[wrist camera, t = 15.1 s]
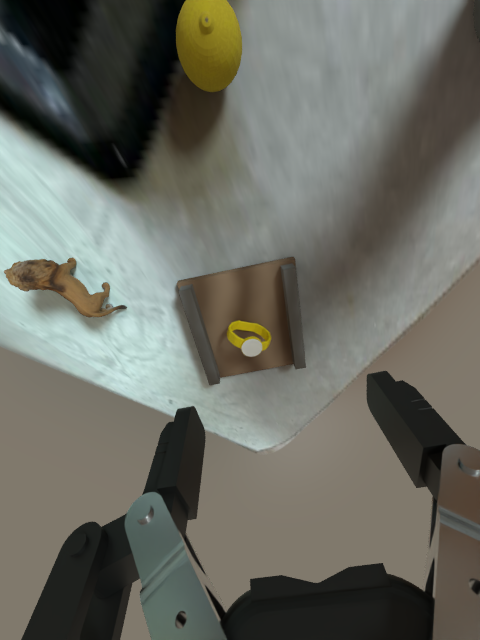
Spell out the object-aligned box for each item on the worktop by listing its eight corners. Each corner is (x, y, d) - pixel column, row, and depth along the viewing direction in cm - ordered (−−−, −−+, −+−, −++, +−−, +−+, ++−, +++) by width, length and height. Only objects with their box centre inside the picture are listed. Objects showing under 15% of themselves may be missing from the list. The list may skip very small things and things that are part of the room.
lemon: (236, 107, 27) (239, 78, 20) (182, 96, 26) (166, 62, 19) (243, 34, 24) (250, -29, 17) (185, 21, 24) (167, -50, 17)
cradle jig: (292, 256, 34) (298, 262, 31) (303, 357, 42) (308, 369, 39) (178, 280, 35) (174, 288, 32) (209, 374, 43) (208, 388, 40)
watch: (225, 329, 38) (225, 352, 32) (229, 313, 36) (229, 334, 31) (264, 337, 39) (270, 360, 33) (269, 321, 37) (276, 343, 32)
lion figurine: (37, 268, 34) (-8, 287, 27) (49, 241, 32) (4, 255, 26) (121, 316, 37) (99, 343, 31) (135, 294, 36) (115, 317, 29)
